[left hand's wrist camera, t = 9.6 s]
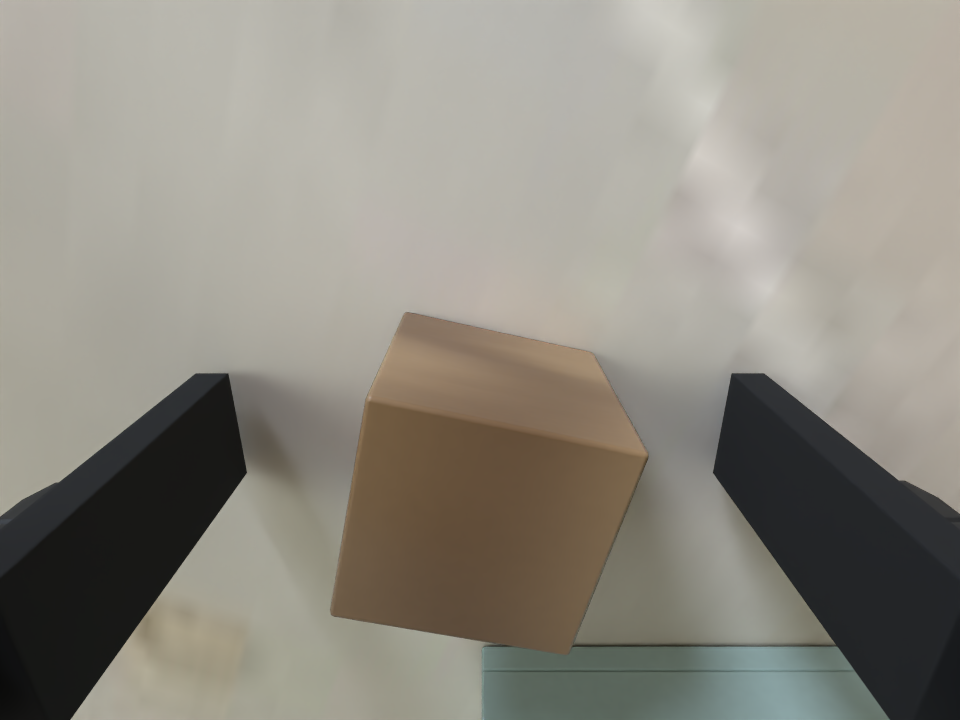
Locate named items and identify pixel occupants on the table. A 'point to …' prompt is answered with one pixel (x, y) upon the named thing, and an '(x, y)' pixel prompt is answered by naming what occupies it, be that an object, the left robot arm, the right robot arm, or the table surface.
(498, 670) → the chest
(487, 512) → the block
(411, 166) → the table surface
